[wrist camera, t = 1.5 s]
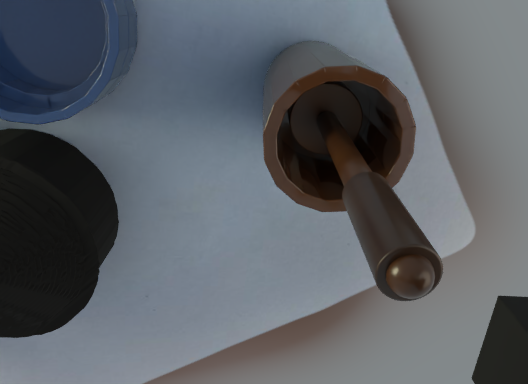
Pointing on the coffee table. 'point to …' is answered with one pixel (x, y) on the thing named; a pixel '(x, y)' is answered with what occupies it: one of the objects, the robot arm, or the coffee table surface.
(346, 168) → the wooden pestle
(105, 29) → the bowl
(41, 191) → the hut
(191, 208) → the coffee table surface
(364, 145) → the crock
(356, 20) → the coffee table surface
